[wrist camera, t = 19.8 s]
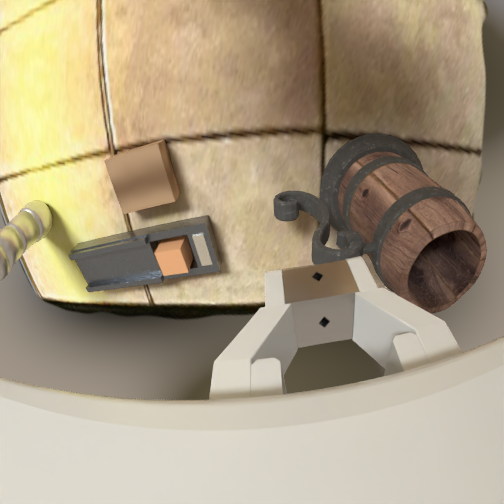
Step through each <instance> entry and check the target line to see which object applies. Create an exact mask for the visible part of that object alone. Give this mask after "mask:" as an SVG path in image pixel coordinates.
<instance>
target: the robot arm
mask: <svg viewBox="0 0 504 504" xmlns="http://www.w3.org/2000/svg"><path fill="white" fill-rule="evenodd" d="M264 281H265V307H263V308H260V309H259V310H258V311H257V313H256V314H255V315H254V316H253V317H252V318H251V320H250V321H249V322H248V323H247V324H246V326H245V327H244V328H243V329H242V330H241V331H240V333H239V334H238V335H237V336H236V338H235V339H234V340H233V341H232V342H231V343H230V344H229V345H228V347H227V348H226V349H225V350H224V351H223V352H222V353H221V355H220V356H219V357H218V358H217V359H216V360H215V362H214V366H213V374H212V382H211V390H210V399H209V400H150V399H133V398H119V397H108V396H99V395H90V394H82V393H75V392H68V391H62V390H56V389H50V388H45V387H40V386H35V385H30V384H25V383H21V382H17V381H13V380H9V379H5V378H2V377H0V504H504V336H503V337H500V338H498V339H496V340H494V341H491V342H488V343H486V344H484V345H481V346H479V347H476V348H473V349H471V350H468V351H465V352H463V353H462V352H461V350H460V348H459V346H458V344H457V342H456V340H455V339H454V337H453V335H452V333H451V331H450V330H449V328H448V326H447V324H446V323H445V321H443V320H441V319H439V318H437V317H436V316H434V315H432V314H430V313H429V312H427V311H425V310H423V309H421V308H420V307H418V306H416V305H414V304H412V303H411V302H409V301H407V300H405V299H403V298H401V297H400V296H398V295H396V294H394V293H392V292H390V291H388V290H387V289H385V288H378V286H377V284H376V282H375V280H374V278H373V276H372V275H371V273H370V271H369V269H368V267H367V265H366V263H365V261H364V259H363V257H361V256H359V257H354V258H349V259H345V260H340V261H335V262H329V263H323V264H317V265H308V266H301V267H293V268H286V269H282V270H281V269H278V270H272V271H265V274H264ZM347 339H353V341H354V342H356V343H357V344H358V345H359V346H360V347H361V348H362V349H363V350H364V351H366V352H367V353H368V354H369V355H370V356H371V357H372V358H373V359H375V360H376V361H377V362H378V363H379V364H380V365H381V366H382V367H384V368H385V373H384V377H379V378H375V379H371V380H366V381H362V382H357V383H352V384H347V385H342V386H337V387H331V388H326V389H319V390H313V391H306V392H299V393H291V394H287V392H286V387H285V382H284V377H283V375H284V373H285V372H286V370H287V368H288V366H289V364H290V362H291V361H292V358H293V357H294V355H295V353H296V351H297V348H300V347H305V346H311V345H316V344H322V343H328V342H334V341H341V340H347Z"/></svg>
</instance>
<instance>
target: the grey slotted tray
mask: <svg viewBox="0 0 504 504" xmlns="http://www.w3.org/2000/svg"><path fill="white" fill-rule="evenodd" d="M182 235H187V236H188V239H189V242H190V245H191V248H192V251H193V254H194V257H195V259H194V260H192V263H191V266H190V270H189V272H188V273H181V274H174V275H167V276H163V273H162V271H161V269H160V266H159V264H158V261H157V259H156V256H155V254H154V253H155V251H156V249H157V247H158V243H157V240H161V239H166V238H171V237H177V236H182ZM69 257H70V259H71V260H74V259H75V260H76V262H77V264H78V266H79V268H80V270H81V272H82V274H83V276H84V278H85V280H86V281H87V283H88V286H87V287H86V289H87V291H88V292H94V291H102V290H109V289H117V288H124V287H132V286H139V285H147V284H154V283H161V282H163V280H164V279H171V278H178V277H185V276H192V275H199V274H205V273H212V272H219V271H220V268H221V263H222V261H221V258H220V255H219V251H218V248H217V244H216V241H215V238H214V234H213V231H212V227H211V224H210V220H209V217H208V215H207V216H201V217H196V218H191V219H186V220H181V221H176V222H171V223H167V224H162V225H157V226H152V227H148V228H143V229H139V230H134V231H130V232H125V233H121V234H116V235H112V236H108V237H103V238H99V239H95V240H91V241H87V242H83V243H78V244H77V245H76V246H75V247H74V248H73V250H72V251H71V253H70V255H69Z"/></svg>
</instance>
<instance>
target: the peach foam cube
mask: <svg viewBox="0 0 504 504" xmlns="http://www.w3.org/2000/svg"><path fill="white" fill-rule="evenodd" d="M154 254H155V256H156V259H157V261H158V264H159V266H160V269H161V271H162V273H163V276H167V275H174V274H181V273H188V272H189V270H190V266H191V263H192V260H193V255H192V252H191V249H190V246H189V243H188V240H187V237H186V235H185V236H179V237H174V238H168V239H163V240H161V242H160V244H159V245H158V247H157V249H156V251H155V253H154Z"/></svg>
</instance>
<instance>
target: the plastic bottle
mask: <svg viewBox="0 0 504 504" xmlns="http://www.w3.org/2000/svg"><path fill="white" fill-rule="evenodd" d="M51 227H52V214H51V211H50V209H49V207H48V206H47V205H46V204H45V203H43V202H41V201H37V200H35V201H32V202H30V203H28V204H26V205H25V206H24V207H23V208H22V209H21V211H20V212H19V213H18V214H17V215H16V216H15V217H14V218H13V219H12V220H11V221H10V222H9V223H8V224H7V225H5V226H4V227H3V228H1V229H0V281H2V280H3V279H5V277H6V276H7V275H8V273H9V272H10V270H11V269H12V267H13V266H14V264H15V263H16V261H17V260H18V259H19V258H20V257H21V255H22V254H23V253H24V252H25V251H26V250H27V249H28V248H29V247H31V246H32V245H33V244H34V243H36V242H38V241H40V240H41V239H42V238H44V237H45V236H46V235H47V234H48V232H49V231H50V229H51Z"/></svg>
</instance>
